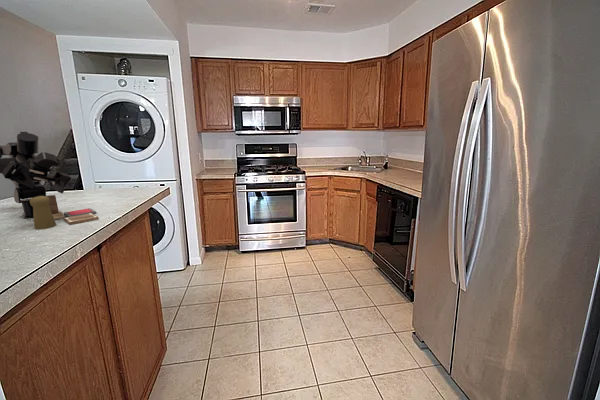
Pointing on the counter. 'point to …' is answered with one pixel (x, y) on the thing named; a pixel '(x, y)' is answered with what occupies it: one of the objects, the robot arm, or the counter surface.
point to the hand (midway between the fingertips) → (49, 190)
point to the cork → (42, 213)
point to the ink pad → (79, 212)
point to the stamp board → (81, 218)
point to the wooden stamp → (54, 207)
